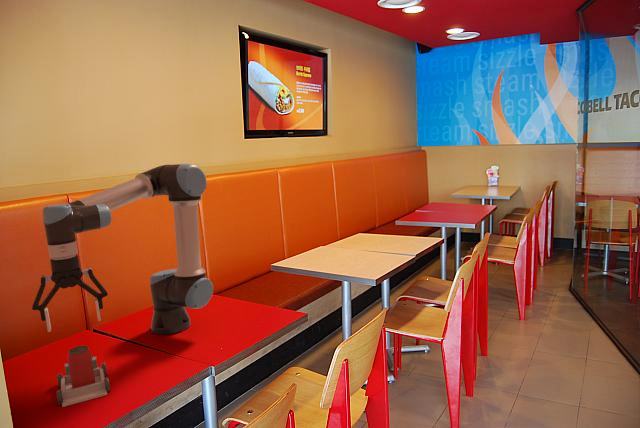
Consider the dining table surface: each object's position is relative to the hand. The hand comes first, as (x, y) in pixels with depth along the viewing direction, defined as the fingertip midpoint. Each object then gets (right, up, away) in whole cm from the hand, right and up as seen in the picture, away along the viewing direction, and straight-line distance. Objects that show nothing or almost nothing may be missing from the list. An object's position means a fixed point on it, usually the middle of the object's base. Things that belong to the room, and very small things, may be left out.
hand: (74, 324), depth 150 cm
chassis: (+1, -20, +3) cm, 21 cm away
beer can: (+1, -20, +3) cm, 20 cm away
